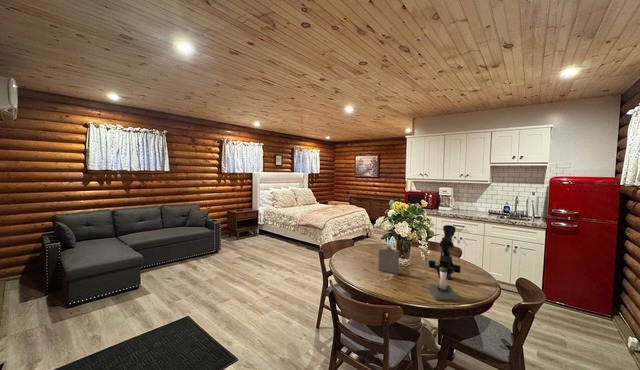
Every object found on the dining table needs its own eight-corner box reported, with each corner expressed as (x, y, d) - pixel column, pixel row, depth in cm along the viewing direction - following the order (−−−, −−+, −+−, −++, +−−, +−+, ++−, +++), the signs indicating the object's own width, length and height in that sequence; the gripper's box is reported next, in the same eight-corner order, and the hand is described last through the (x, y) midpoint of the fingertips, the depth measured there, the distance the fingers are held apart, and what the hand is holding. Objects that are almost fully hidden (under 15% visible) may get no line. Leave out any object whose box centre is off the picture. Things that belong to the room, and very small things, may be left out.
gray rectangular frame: (428, 290, 177) (429, 284, 177) (449, 291, 176) (449, 285, 175) (435, 299, 164) (435, 293, 164) (457, 301, 163) (457, 294, 162)
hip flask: (377, 270, 210) (378, 245, 209) (378, 268, 214) (379, 244, 212) (398, 274, 203) (399, 248, 202) (398, 272, 207) (399, 247, 206)
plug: (437, 287, 170) (438, 267, 170) (442, 286, 172) (443, 266, 171) (443, 289, 167) (444, 269, 166) (447, 288, 169) (448, 268, 168)
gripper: (429, 248, 176) (426, 270, 167) (461, 253, 167) (459, 276, 158) (430, 256, 183) (427, 277, 175) (461, 261, 174) (459, 284, 165)
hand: (443, 278), depth 168 cm, fingers closed on plug, 4 cm apart
